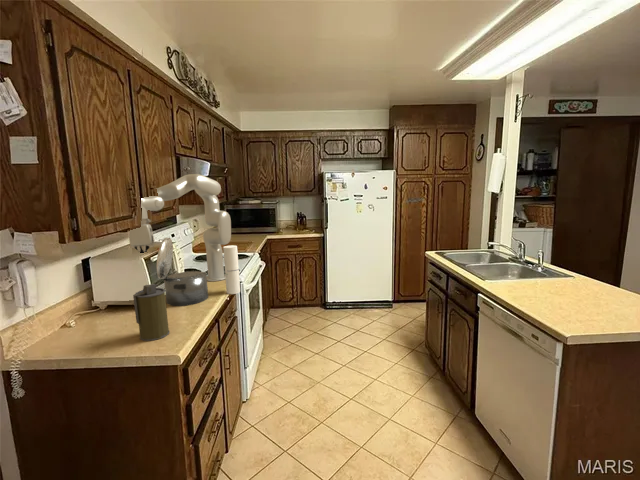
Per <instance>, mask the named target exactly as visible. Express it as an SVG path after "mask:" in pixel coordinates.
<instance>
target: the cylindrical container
mask: <svg viewBox="0 0 640 480" xmlns="http://www.w3.org/2000/svg"><path fill="white" fill-rule="evenodd" d="M222 252H223V265H224V275H225V278H226V279H225V288H226V289H225V291H226V294H228V295H235V294H239V293H241V283H240V282H241V281H240V271H239V256H238V255H239V254H238V246H237V245H226V246H225V245H223V247H222Z"/></svg>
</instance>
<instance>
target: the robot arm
mask: <svg viewBox="0 0 640 480" xmlns="http://www.w3.org/2000/svg"><path fill="white" fill-rule="evenodd" d="M221 187H222V186H221V184H220V182H218V181H216V180H215V179H213V178H211V177H208V176H205V175H203V174H200V173H193V174H191V173H190V174H184V175H183V176H181V177H179V178H177V179H176V180H175V179H174V180H173V181H172V182H169V183H167V184H164V185H162V186H160V187H157V188H156V189H157V193H158V196H149V197H144V198H141V208H142V221H141V227H140V228H136V229H133V230H130V231H129V230H128V232H129V233H128V239H129V240H128V241H129V245H130V248H131V249H134V250H136V251H137V252H138V253H139V252H140V253H144V252H147V253H148V250H149V249H152V248H153V247H155V238H154V237H155V236H154V232H153V228H152V225H151V223H152V219H149V218H148V217H149V216H148V212H149V211H148V210H150V212H157V211H161V210H162V209H164V207H165V202H167V201H173V200H175V199H179V198H180V197H183V195H185V194H188V193H189V192H190V191H193V190H194V192H195V193H196V194H197V195H198V196H199V197H200V198H201V200H202V201H203V203H204V219H205V220H204V221H205V224H206V225H207V226H209V228H207V229H205V231H204V232H203V234H202V237H203V242H204V245H205V253H206V265H207V282H217V281H218V282H219V281H223V280H226V278H225V265H224V251H223V247H222V246H225V245H227V244H229V243H230V242H231V239H232V220H231V215H230V214H229V212H227V211H226V210H220V209H221V208H220V201H219V198H218V195H219V194H221V192H222V188H221ZM210 227H211V228H210ZM215 227H217V228H215Z"/></svg>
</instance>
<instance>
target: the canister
mask: <svg viewBox="0 0 640 480" xmlns="http://www.w3.org/2000/svg"><path fill="white" fill-rule="evenodd" d="M133 305H134V312H135V313H134V314H135V321H136V324H138V329H139V340H140V341H144V342H151V341H152V342H153V341H157V340H160V339H163V338H165V337H168V335H169V334H170V328H169V319H168V313H167V312H168V311H167V303H166V293H165V288H161V287H158V284H157V283H150V284H145V285H143V288H142V290H139V291H137V292H135V293H134V294H133Z"/></svg>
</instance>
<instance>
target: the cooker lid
mask: <svg viewBox="0 0 640 480" xmlns="http://www.w3.org/2000/svg"><path fill="white" fill-rule="evenodd" d="M161 241H162V242H161V243H160V245H159V247H158V248H157V251H158V253H157V257H156V276H157V277H158V279H160V280H161V279H162V280H164V278H165V277H167V276H168V273H169V272H170V269H171V267H172V266H171V265H172V262H173V254H174V244H173V240H172V239H171V238H170V237H164V238H163V239H162V240H161Z"/></svg>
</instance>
